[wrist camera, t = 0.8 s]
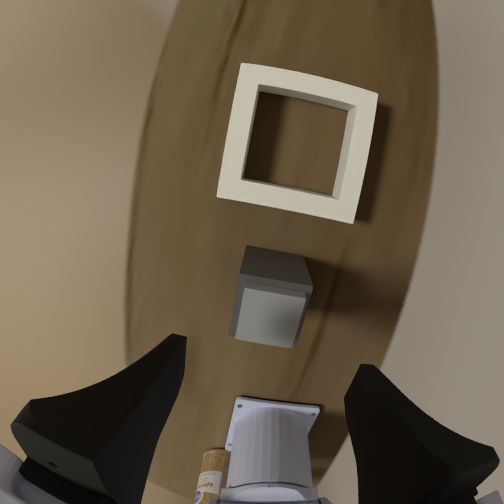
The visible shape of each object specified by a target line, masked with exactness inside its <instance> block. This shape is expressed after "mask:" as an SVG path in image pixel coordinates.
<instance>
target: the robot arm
mask: <svg viewBox="0 0 504 504" xmlns="http://www.w3.org/2000/svg"><path fill="white" fill-rule="evenodd" d="M186 343H187V337H185V336H181V335H177V334H173V333H172V334H170V335H169V336H168V337H167V338H165V339H164V340H163V341H162V342H161V343H160V344H158V345H157V346H156V347H155V348H153V349H152V350H151V351H150V352H148V353H147V354H146V355H144V356H143V357H142V358H140V359H139V360H137V361H136V362H134V363H133V364H131V365H130V366H128V367H127V368H125V369H124V370H122V371H120V372H119V373H117V374H115V375H113V376H111V377H110V378H107V379H105V380H103V381H101V382H99V383H96V384H94V385H91V386H89V387H86V388H83V389H80V390H77V391H74V392H70V393H67V394H62V395H58V396H54V397H47V398H40V399H33V400H30V401H29V402H28V403H27V404H26V406H25V407H24V408H23V409H22V410H21V412H20V413H19V415H18V416H17V417H16V418H15V420H14V421H13V422H12V424H11V430H12V433H13V435H14V437H15V439H16V440H17V442H18V443H19V444H20V446H21V448H22V449H23V451H24V452H25V454H26V455H27V458H26V460H25V461H24V462H23V461H22V460H21V459H20V458H19V457H18V456H16V455H15V454H14V453H12V452H11V451H9V450H8V449H7V448H5V447H4V446H3V445H1V444H0V504H141V500H142V496H143V492H144V488H145V484H146V480H147V476H148V473H149V469H150V465H151V462H152V458H153V455H154V452H155V448H156V445H157V442H158V439H159V437H160V434H161V432H162V430H163V428H164V425H165V423H166V421H167V419H168V416H169V414H170V412H171V410H172V407H173V405H174V403H175V401H176V398H177V396H178V393H179V390H180V387H181V383H182V380H183V377H184V370H185V355H186ZM344 403H345V414H346V420H347V425H348V429H349V433H350V437H351V441H352V446H353V450H354V454H355V458H356V465H357V475H358V497H359V504H504V503H503V501H502V499H501V496H500V494H499V492H498V491H494V492H492V493H490V494H488V495H486V496H484V497H482V498H480V499H478V500H477V501H475V498H474V496H476V495H477V494H478V491H477V489H476V487H477V486H478V485H479V484H481V483H482V482H483V481H484V480H485V479H486V478H487V477H488V476H489V475H490V474H491V473H492V472H493V471H494V470H495V469H496V468H497V467H498V465H499V462H500V460H499V458H498V455H497V454H496V452H495V450H494V448H493V447H491V446H488V445H484V444H481V443H478V442H475V441H473V440H470V439H468V438H466V437H463V436H461V435H459V434H457V433H455V432H453V431H452V430H450V429H448V428H447V427H445V426H443V425H441V424H440V423H438V422H437V421H435V420H434V419H433V418H431V417H430V416H429V415H427V414H426V413H425V412H423V411H422V410H421V409H420V408H418V407H417V406H416V405H415V404H414V403H413V402H412V401H411V400H409V399H408V398H407V397H406V396H405V395H404V394H403V393H402V392H401V391H400V390H399V389H398V388H397V387H396V386H395V385H394V384H393V383H392V382H391V381H390V380H389V379H388V378H387V377H386V376H385V375H384V374H383V373H382V372H381V371H380V370H379V369H378V368H377V367H375V366H374V365H371V364H360V366H359V368H358V371H357V373H356V375H355V377H354V379H353V381H352V383H351V385H350V387H349V389H348V391H347V393H346V395H345V397H344ZM239 404H241V405H239ZM319 412H320V408H319V406H315V405H303V404H292V403H283V402H275V401H267V400H260V399H253V398H247V397H238V398H237V399H236V402H235V406H234V410H233V415H232V419H231V423H230V428H229V432H228V436H227V441H226V445H225V450H227V451H231V456H230V464H229V471H228V478H227V486H226V488H222V489H221V495H220V498H212V499H210V501H208V502H207V503H205V504H332V503H331V502H330V501H328V499H327V498H325V497H324V498H318V492H317V488H313V487H312V475H311V464H310V454H309V443H308V433H309V431H310V429H311V427H312V425H313V424H314V422H315V420H316V418H317V416H318V414H319Z"/></svg>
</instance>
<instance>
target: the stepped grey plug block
mask: <svg viewBox="0 0 504 504" xmlns="http://www.w3.org/2000/svg"><path fill="white" fill-rule="evenodd" d="M312 290H313V284H312V281H311V278H310V275H309V272H308V269H307V266H306V263H305V260H304V257H303V256H300V255H295V254H290V253H285V252H279V251H274V250H269V249H263V248H258V247H253V246H246V249H245V253H244V257H243V261H242V265H241V269H240V273H239V278H238V284H237V290H236V295H235V301H234V307H233V313H232V319H231V324H230V330H229V336H234V337H235V339H238V340H243V341H249V342H255V343H261V344H267V345H273V346H279V347H286V348H292V346H294V347H296V344H297V341H298V337H299V334H300V331H301V328H302V324H303V321H304V318H305V314H306V311H307V308H308V304H309V301H310V297H311V294H312Z"/></svg>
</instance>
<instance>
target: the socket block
mask: <svg viewBox="0 0 504 504" xmlns="http://www.w3.org/2000/svg"><path fill="white" fill-rule="evenodd" d="M259 91H261V92H267V93H272V94H278V95H283V96H288V97H293V98H298V99H303V100H307V101H312V102H316V103H320V104H324V105H328V106H332V107H336V108H340V109H343V110H347V111H348V116H347V122H346V128H345V133H344V139H343V144H342V150H341V155H340V160H339V165H338V170H337V175H336V180H335V184H334V189H333V194H332V196H330V195H325V194H321V193H317V192H312V191H307V190H303V189H298V188H293V187H288V186H283V185H278V184H273V183H268V182H262V181H257V180H251V179H246V178H243V177H244V171H245V166H246V160H247V155H248V149H249V144H250V138H251V133H252V128H253V122H254V117H255V112H256V107H257V101H258V96H259ZM377 99H378V94H377V93H374V92H371V91H368V90H365V89H362V88H358V87H355V86H352V85H348V84H345V83H341V82H338V81H334V80H330V79H326V78H322V77H318V76H314V75H309V74H305V73H300V72H295V71H290V70H285V69H280V68H274V67H268V66H261V65H255V64H247V63H241V67H240V72H239V76H238V81H237V86H236V91H235V96H234V101H233V106H232V111H231V116H230V122H229V127H228V132H227V138H226V144H225V149H224V155H223V161H222V166H221V172H220V178H219V184H218V191H217V197H219V198H225V199H231V200H237V201H242V202H248V203H253V204H259V205H264V206H269V207H275V208H280V209H285V210H290V211H295V212H300V213H305V214H310V215H314V216H319V217H324V218H328V219H333V220H337V221H342V222H346V223H351V224H353V222H354V218H355V214H356V210H357V205H358V201H359V197H360V192H361V188H362V183H363V178H364V174H365V169H366V164H367V159H368V153H369V148H370V143H371V137H372V131H373V125H374V119H375V113H376V106H377Z"/></svg>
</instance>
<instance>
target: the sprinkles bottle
mask: <svg viewBox="0 0 504 504" xmlns="http://www.w3.org/2000/svg"><path fill="white" fill-rule="evenodd" d="M230 456H231V451H227V450H225V449H218V448H217V449H210V450H208V451H206V452H205V453H204V455H203V459H204V460H203V465H202V470H201V474H200V476H199V481H198V486H197V491H196V496H195V501H194V504H205V503H207V502H208V501H210V499H212V498H220V495H221V489H222V488H226V486H227V478H228V471H229V464H230Z"/></svg>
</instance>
